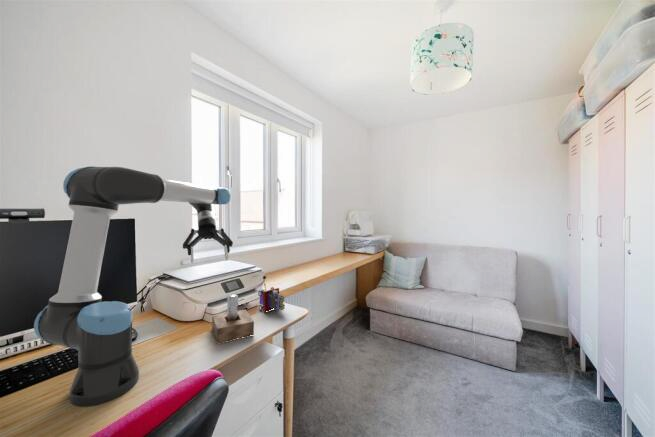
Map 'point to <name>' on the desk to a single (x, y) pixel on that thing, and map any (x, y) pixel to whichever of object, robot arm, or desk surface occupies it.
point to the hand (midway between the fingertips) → (210, 259)
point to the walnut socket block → (232, 326)
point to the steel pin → (232, 307)
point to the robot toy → (270, 299)
